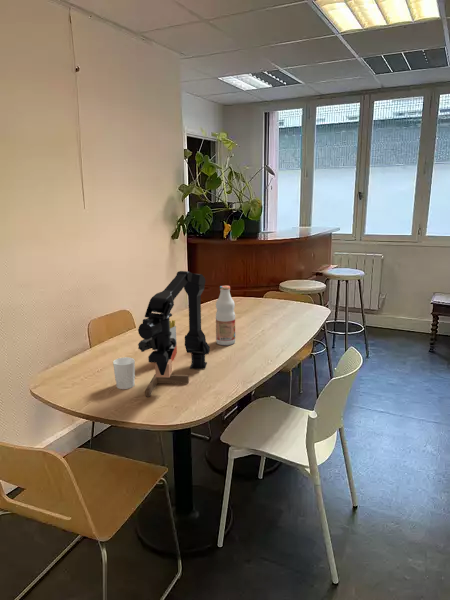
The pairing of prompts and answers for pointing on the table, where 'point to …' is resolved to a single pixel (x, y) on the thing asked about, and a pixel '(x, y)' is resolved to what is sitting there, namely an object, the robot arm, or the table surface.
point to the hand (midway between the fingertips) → (163, 371)
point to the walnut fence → (165, 381)
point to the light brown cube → (167, 371)
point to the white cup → (124, 372)
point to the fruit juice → (225, 318)
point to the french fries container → (173, 335)
